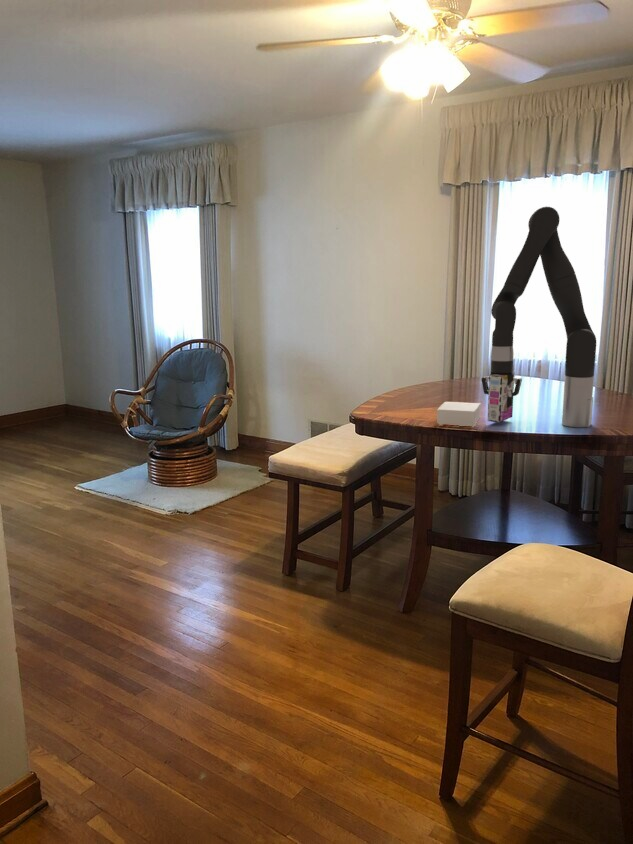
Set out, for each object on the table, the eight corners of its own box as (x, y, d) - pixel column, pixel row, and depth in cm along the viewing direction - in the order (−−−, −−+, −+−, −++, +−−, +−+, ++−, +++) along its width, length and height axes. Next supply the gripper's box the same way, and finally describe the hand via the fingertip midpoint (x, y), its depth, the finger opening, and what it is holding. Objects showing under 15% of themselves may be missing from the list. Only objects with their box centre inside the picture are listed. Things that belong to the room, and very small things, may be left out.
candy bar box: (500, 423, 227) (502, 376, 224) (487, 421, 230) (488, 375, 227) (513, 417, 236) (515, 371, 232) (500, 415, 239) (501, 371, 235)
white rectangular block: (480, 419, 241) (480, 403, 240) (474, 428, 228) (474, 411, 227) (444, 417, 246) (445, 401, 245) (436, 425, 233) (437, 409, 231)
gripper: (525, 358, 228) (523, 406, 232) (484, 356, 235) (483, 403, 239) (520, 360, 222) (518, 410, 225) (478, 359, 229) (477, 407, 232)
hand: (500, 406), depth 232 cm, fingers closed on candy bar box, 5 cm apart
